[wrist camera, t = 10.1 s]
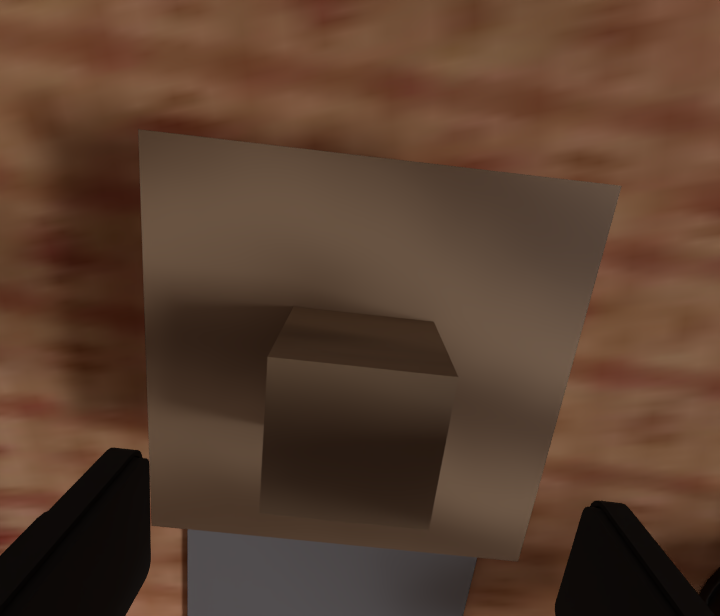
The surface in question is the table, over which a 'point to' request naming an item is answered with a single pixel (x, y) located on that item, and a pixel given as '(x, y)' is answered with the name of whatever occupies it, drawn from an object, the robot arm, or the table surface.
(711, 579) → the french press
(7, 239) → the table surface
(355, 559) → the rubber mat
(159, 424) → the walnut lid
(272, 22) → the table surface
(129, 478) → the robot arm
